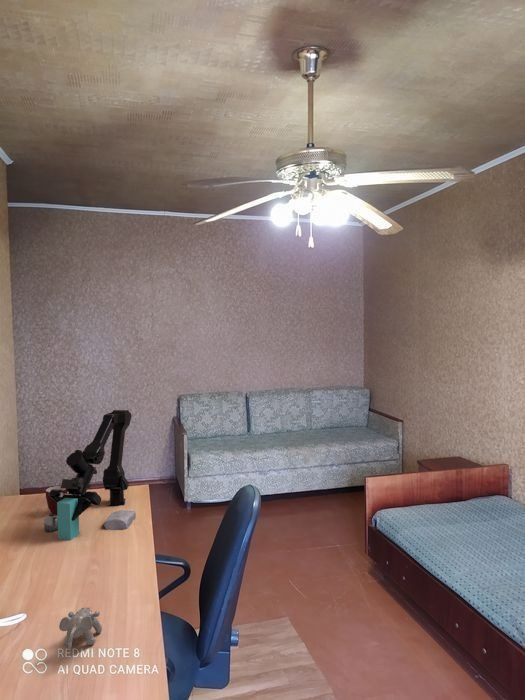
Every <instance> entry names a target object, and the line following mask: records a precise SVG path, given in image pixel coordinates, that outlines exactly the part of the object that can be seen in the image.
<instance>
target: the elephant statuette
mask: <svg viewBox="0 0 525 700" xmlns="http://www.w3.org/2000/svg"><path fill="white" fill-rule="evenodd" d="M98 617H100V611H99V610H96V611H94V613H92V609H91V607H89V606H88V607H81V608H80V609H78V610H77V611H75V613H74V611H69V612H68V614H67V616H65V617H63V618H62V619H61V620H60V621H59V625H58V628H59V630H60V631H61V632H66V638H65V639H64V641H63V644H65V646H67V648H68V650H71V649H72V646H73V641H74V639H76V638H79V637H80V636H83V637H84V639H85V644H86V645H87V646H92V645H93V644H95V643H96V641H97V639H96V638H95V636H94V634H93V630H92V629H94V630H95V633H96V634H99V635H100V634H101V633H102V631H103V626H102V624H101V623H100V621H99V619H97V618H98Z"/></svg>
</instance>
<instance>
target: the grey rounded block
mask: <svg viewBox="0 0 525 700" xmlns="http://www.w3.org/2000/svg"><path fill="white" fill-rule="evenodd" d="M43 521H44V522H43V524H44V533H47V534H50V533H51V534H52V533H55V532H58V514H52V513H51V514H47V515H45V516H44V517H43Z"/></svg>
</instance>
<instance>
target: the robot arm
mask: <svg viewBox="0 0 525 700" xmlns="http://www.w3.org/2000/svg"><path fill="white" fill-rule="evenodd" d="M131 420H132V413H131V412H130V411H129V409H113V410H112V411H111V412H107V413H106V414H104V415H103V416H102V422H101V423H100V425H99V427H98V429H97V432H96V434H95V436H94V437H93V440H92V442H90V443H88V444H87V445H86V446H85V448H84V449H83V451H82V449H75V451H74V452H72V453H71V454H70V455H68V456H67V457H66V461H65V462H66V465H67V466H68V467H69V468H70V469H71V470H72V472H74V473H75V474H76V475H75V477H72V478H70V479H69V478H62V481H61V484H60V486H61V488H66V491H67V492H68V493H64V492H63V491H62V490H61V489H52V490H51V491H50V493H49V495H48V496H49V497H51V498H52V499H53V500H54V501H55V502H59V501H61V500H63V499H65V498H75V499H78V504H77V507H76V509H75V511H74V514H73V516H72V521H74V520H75V519H76V518H77V517H78V516H79V517H80V516H81V515H82V514H83V513H84V512H85V511H86V510H87V509H88V508H92V506H101V504H102V497H101V496H100V495H99V494H98V492H96V491H90V490H89V491H88V489H90V488H91V487H92V485H91V481H92V480H93V479H92V478H93V477H94V475H98V470H97V469H96V466H94V465H99V464H101V463H103V460H104V457H105V454H106V452H105V446H106V444H107V442H108V439H109V437H110V435H111V434H112V440H111V449H110V457H109V464H108V466H107V467H106V468H104V470H103V475H102V476H103V477H102V485H103V487H104V490H105V491H107V490H109V501H108V507H115V506H121V505H125V504H126V498H125V492H124V491H126V490H128V488H129V486H130V485H129V484H130V483H129V481H128V479H127V478H126V475H125V474H126V473H125V470H124V467H123V465H122V464H123V456H124V455H123V453H124V447H125V446H124V445H125V434H126V431H127V429H128V428H129V427H130V424H131Z"/></svg>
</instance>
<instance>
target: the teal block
mask: <svg viewBox="0 0 525 700" xmlns="http://www.w3.org/2000/svg"><path fill="white" fill-rule="evenodd" d="M77 504H78V499H75V498H65V499H63V500H61V501H59V502H57V513H58V531H57V536H58V537H57V538H58V539H59V540H65V541H66V540H68V541H72V540H73V539H75V538H76V537H77V536H79V535H80V515H79V516H78V517H77V518H76V519H75V520H74V521H72V516H73V514H74V511H75V509H76V507H77Z"/></svg>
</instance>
